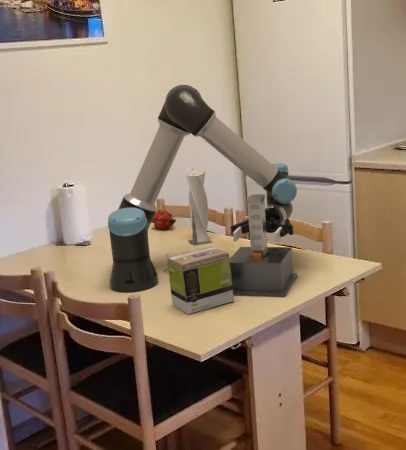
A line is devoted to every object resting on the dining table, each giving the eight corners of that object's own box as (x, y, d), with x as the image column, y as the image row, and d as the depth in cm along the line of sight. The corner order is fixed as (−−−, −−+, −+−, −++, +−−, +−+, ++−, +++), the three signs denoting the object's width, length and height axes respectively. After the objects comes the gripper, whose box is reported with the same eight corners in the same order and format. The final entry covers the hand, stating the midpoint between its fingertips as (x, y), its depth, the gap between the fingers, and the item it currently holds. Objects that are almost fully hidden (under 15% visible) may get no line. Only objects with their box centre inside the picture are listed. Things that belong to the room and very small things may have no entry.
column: (265, 282, 205) (260, 198, 199) (252, 282, 207) (246, 199, 200) (270, 276, 211) (265, 194, 205) (257, 275, 212) (251, 194, 206)
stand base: (284, 297, 198) (282, 259, 195) (224, 295, 204) (221, 258, 201) (297, 276, 214) (295, 241, 212) (240, 275, 220) (238, 240, 218)
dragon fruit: (155, 229, 293) (174, 237, 285) (142, 222, 287) (161, 230, 278) (165, 211, 294) (183, 219, 285) (152, 203, 288) (170, 211, 279)
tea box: (216, 293, 206) (212, 245, 202) (234, 302, 197) (230, 252, 194) (171, 305, 199) (166, 255, 196) (187, 315, 191) (182, 263, 187)
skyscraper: (187, 240, 266) (180, 167, 259) (207, 237, 268) (200, 165, 262) (194, 245, 258) (187, 170, 251) (214, 241, 261) (208, 167, 254)
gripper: (310, 230, 219) (296, 250, 199) (236, 230, 226) (216, 249, 207) (309, 206, 217) (295, 224, 197) (234, 207, 225) (214, 224, 205)
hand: (255, 237), depth 202 cm, fingers open, 12 cm apart
